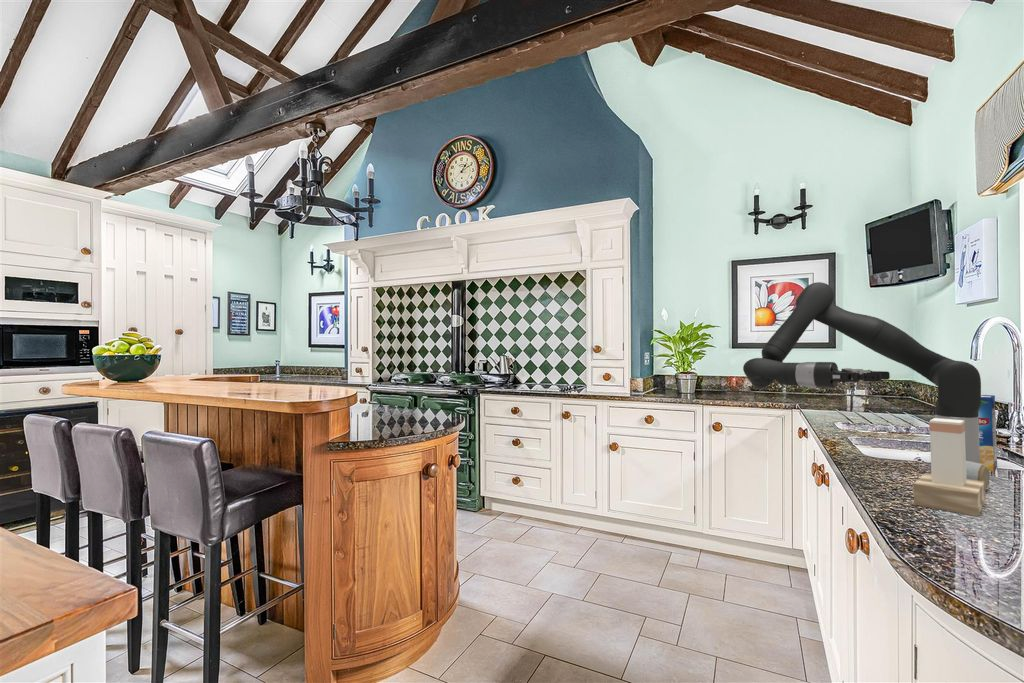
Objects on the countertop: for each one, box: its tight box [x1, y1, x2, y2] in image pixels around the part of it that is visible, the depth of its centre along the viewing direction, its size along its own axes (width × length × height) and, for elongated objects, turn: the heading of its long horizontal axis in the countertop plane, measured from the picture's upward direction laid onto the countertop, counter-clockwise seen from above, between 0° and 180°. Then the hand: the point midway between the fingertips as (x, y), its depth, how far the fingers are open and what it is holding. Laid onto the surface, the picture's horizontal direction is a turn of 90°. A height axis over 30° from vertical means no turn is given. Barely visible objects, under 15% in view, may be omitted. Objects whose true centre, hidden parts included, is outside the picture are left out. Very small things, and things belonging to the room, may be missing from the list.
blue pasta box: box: [978, 394, 998, 472], centre depth 148 cm, size 7×11×22 cm, turn 39°
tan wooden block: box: [912, 472, 987, 517], centre depth 114 cm, size 14×11×5 cm
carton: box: [928, 417, 967, 487], centre depth 115 cm, size 6×6×15 cm
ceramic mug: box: [966, 461, 991, 491], centre depth 127 cm, size 11×8×8 cm
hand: (885, 376), depth 127 cm, fingers open, 8 cm apart
